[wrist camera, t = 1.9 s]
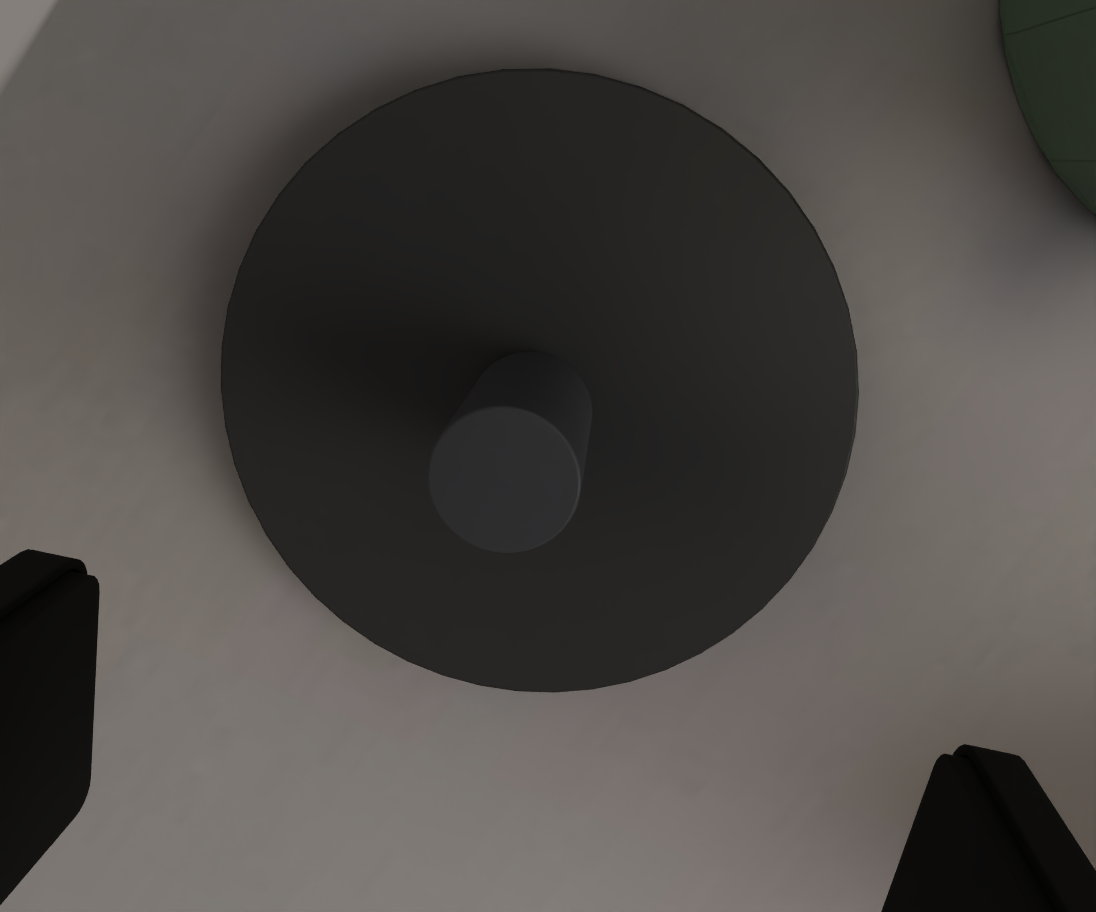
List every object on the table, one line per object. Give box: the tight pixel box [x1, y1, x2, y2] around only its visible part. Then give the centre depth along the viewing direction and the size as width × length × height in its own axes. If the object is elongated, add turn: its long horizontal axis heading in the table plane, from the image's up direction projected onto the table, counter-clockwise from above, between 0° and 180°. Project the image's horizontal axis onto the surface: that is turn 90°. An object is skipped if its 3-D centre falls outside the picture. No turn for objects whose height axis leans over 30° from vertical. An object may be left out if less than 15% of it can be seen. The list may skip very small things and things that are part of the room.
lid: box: [221, 68, 859, 692], centre depth 20 cm, size 15×15×6 cm
